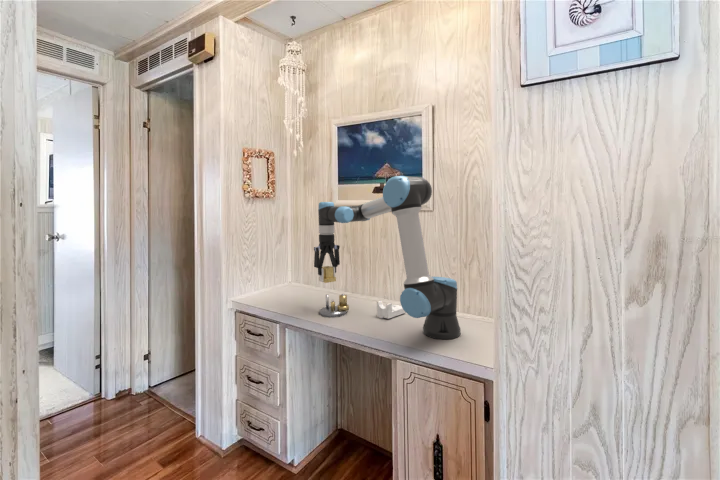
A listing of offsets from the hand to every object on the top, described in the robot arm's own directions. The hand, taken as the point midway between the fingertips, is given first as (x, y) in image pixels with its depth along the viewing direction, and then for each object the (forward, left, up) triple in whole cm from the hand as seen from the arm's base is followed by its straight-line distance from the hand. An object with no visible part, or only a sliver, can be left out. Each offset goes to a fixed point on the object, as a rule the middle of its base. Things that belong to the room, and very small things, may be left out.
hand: (327, 280), depth 183 cm
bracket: (-25, -19, -16) cm, 36 cm away
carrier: (-5, 0, -15) cm, 16 cm away
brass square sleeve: (0, 0, 0) cm, 0 cm away
